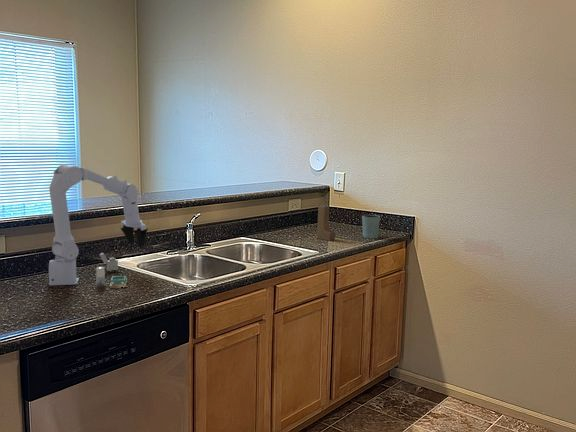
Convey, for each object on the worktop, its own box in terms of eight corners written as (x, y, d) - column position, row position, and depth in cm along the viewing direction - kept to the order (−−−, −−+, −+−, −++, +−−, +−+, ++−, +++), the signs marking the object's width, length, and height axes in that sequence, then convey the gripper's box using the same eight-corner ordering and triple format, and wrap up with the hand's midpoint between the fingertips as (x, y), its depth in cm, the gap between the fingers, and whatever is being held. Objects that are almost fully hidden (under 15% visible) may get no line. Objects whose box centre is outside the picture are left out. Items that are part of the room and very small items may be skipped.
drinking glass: (373, 239, 306) (374, 217, 304) (357, 236, 312) (358, 215, 310) (382, 236, 314) (383, 215, 312) (366, 234, 320) (367, 213, 318)
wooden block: (334, 239, 302) (336, 207, 299) (329, 241, 298) (331, 207, 296) (322, 237, 308) (323, 205, 305) (316, 238, 305) (318, 205, 302)
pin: (96, 287, 205) (95, 269, 204) (97, 285, 208) (96, 266, 207) (104, 287, 206) (104, 268, 205) (105, 284, 209) (104, 266, 207)
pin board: (109, 288, 204) (109, 281, 204) (112, 281, 213) (111, 274, 213) (125, 287, 206) (125, 281, 205) (127, 280, 215) (126, 274, 214)
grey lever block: (116, 269, 231) (115, 250, 229) (118, 270, 229) (117, 251, 228) (99, 272, 226) (99, 252, 225) (101, 272, 225) (101, 253, 223)
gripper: (150, 212, 224) (154, 244, 228) (129, 208, 234) (134, 238, 237) (135, 216, 219) (140, 249, 223) (115, 212, 229) (120, 243, 232)
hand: (136, 244), depth 230 cm, fingers open, 7 cm apart
